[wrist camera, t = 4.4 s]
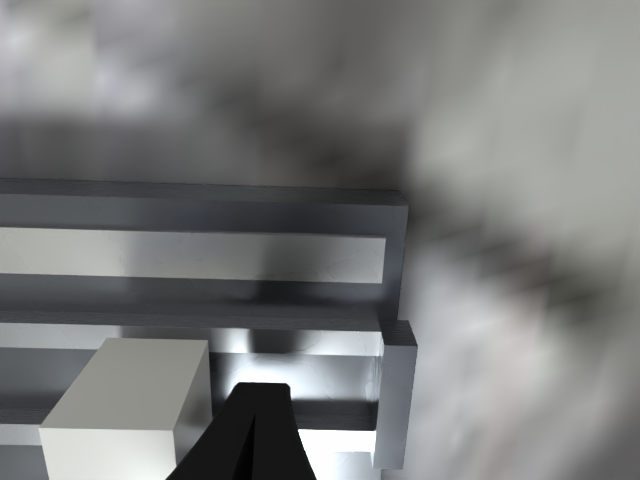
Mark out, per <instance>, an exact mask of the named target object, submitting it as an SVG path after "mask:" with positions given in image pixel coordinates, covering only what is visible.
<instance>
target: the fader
mask: <svg viewBox="0 0 640 480" xmlns="http://www.w3.org/2000/svg"><path fill="white" fill-rule="evenodd" d="M211 422H212V405H211V386H210V368H209V349H208V340H179V339H137V338H107V339H106V340H105V341H104V342H103V344H102V345H101V346H100V348H99V349H98V350H97V352H96V353H95V354H94V356H93V357H92V358H91V360H90V361H89V362H88V363H87V365H86V366H85V367H84V369H83V370H82V371H81V373H80V374H79V375H78V377H77V378H76V379H75V381H74V382H73V383H72V384H71V386H70V387H69V388H68V390H67V391H66V392H65V394H64V395H63V396H62V398H61V399H60V400H59V402H58V403H57V404H56V405H55V407H54V408H53V409H52V411H51V412H50V413H49V415H48V416H47V417H46V419H45V420H44V421H43V423H42V424H41V425H40V426H39V428H38V429H39V434H40V438H41V443H42V448H43V452H44V457H45V462H46V466H47V471H48V476H49V480H165V479H166V478H167V477H168V476H169V475H170V474H171V472H172V471H173V470H174V469H175V468H176V467H177V465H178V464H179V463H180V462H181V461H182V459H183V458H184V457H185V456H186V455H187V453H188V452H189V451H190V450H191V449H192V447H193V446H194V445H195V443H196V442H197V441H198V439H199V438H200V437H201V435H202V434H203V433H204V431H205V430H206V429H207V427H208V426H209V425H210V423H211Z"/></svg>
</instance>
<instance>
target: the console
mask: <svg viewBox="0 0 640 480" xmlns="http://www.w3.org/2000/svg"><path fill="white" fill-rule="evenodd" d="M408 209H409V206H408V204H407V203H406V201H405V200H404V198H403V197H402V195H401V194H400V192H399V191H394V190H362V189H330V188H298V187H266V186H234V185H202V184H170V183H138V182H106V181H75V180H43V179H11V178H0V480H49V476H48V471H47V466H46V462H45V457H44V452H43V448H42V443H41V438H40V434H39V429H38V428H39V426H40V425H41V424H42V423H43V421H44V420H45V419H46V417H47V416H48V415H49V413H50V412H51V411H52V409H53V408H54V407H55V405H56V404H57V403H58V402H59V400H60V399H61V398H62V396H63V395H64V394H65V392H66V391H67V390H68V388H69V387H70V386H71V384H72V383H73V382H74V381H75V379H76V378H77V377H78V375H79V374H80V373H81V371H82V370H83V369H84V367H85V366H86V365H87V363H88V362H89V361H90V360H91V358H92V357H93V356H94V354H95V353H96V352H97V350H98V349H99V348H100V346H101V345H102V344H103V342H104V341H105V340H106V339H107V338H137V339H179V340H208V349H209V368H210V386H211V405H212V420H213V419H214V418H215V416H216V415H217V413H218V412H219V410H220V409H221V407H222V406H223V404H224V403H225V401H226V399H227V398H228V396H229V394H230V393H231V391H232V389H233V387H234V386H235V385H236V384H237V383H238V382H268V383H287V384H288V385H289V386H290V387H291V402H292V407H293V412H294V416H295V420H296V424H297V428H298V431H299V434H300V437H301V440H302V443H303V446H304V449H305V451H306V454H307V457H308V459H309V462H310V464H311V466H312V469H313V471H314V473H315V476H316V478H317V480H381V470H382V469H403V462H404V454H405V446H406V438H407V430H408V422H409V414H410V406H411V397H412V389H413V381H414V373H415V365H416V357H417V349H418V345H417V343H416V340H415V337H414V334H413V332H412V329H411V326H410V324H409V321H401V320H397V315H398V306H399V296H400V286H401V277H402V267H403V257H404V248H405V238H406V229H407V219H408Z"/></svg>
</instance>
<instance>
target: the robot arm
mask: <svg viewBox="0 0 640 480" xmlns="http://www.w3.org/2000/svg"><path fill="white" fill-rule="evenodd" d="M165 480H317V478H316V476H315V473H314V471H313V469H312V466H311V464H310V462H309V459H308V457H307V454H306V451H305V449H304V446H303V443H302V440H301V437H300V434H299V431H298V428H297V424H296V420H295V416H294V412H293V407H292V402H291V387H290V386H289V385H288V384H287V383H268V382H238V383H237V384H236V385H235V386H234V387H233V389H232V391H231V393H230V394H229V396H228V398H227V399H226V401H225V403H224V404H223V406H222V407H221V409H220V410H219V412H218V413H217V415H216V416H215V418H214V419H213V420H212V422H211V423H210V425H209V426H208V427H207V429H206V430H205V431H204V433H203V434H202V435H201V437H200V438H199V439H198V441H197V442H196V443H195V445H194V446H193V447H192V449H191V450H190V451H189V452H188V453H187V455H186V456H185V457H184V458H183V459H182V461H181V462H180V463H179V464H178V465H177V467H176V468H175V469H174V470H173V471H172V472H171V474H170V475H169V476H168V477H167V478H166V479H165Z"/></svg>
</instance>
